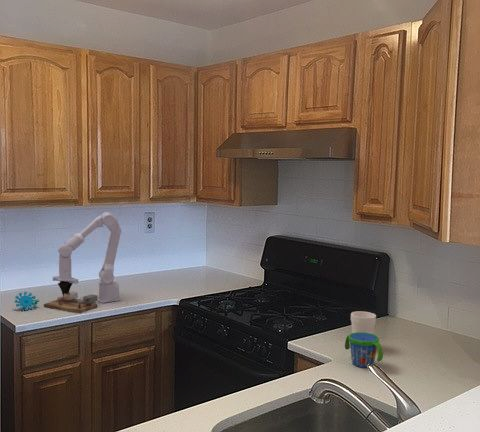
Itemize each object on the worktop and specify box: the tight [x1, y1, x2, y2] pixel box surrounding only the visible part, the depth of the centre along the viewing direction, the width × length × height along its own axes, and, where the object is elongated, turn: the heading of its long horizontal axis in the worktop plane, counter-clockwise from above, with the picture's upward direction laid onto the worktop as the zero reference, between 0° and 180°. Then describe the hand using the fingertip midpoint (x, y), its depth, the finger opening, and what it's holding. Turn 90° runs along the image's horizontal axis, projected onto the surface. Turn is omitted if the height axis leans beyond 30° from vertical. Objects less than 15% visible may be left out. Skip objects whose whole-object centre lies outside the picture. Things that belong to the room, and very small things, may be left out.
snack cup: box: [344, 332, 384, 368], centre depth 191 cm, size 16×10×10 cm
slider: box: [56, 291, 79, 304], centre depth 258 cm, size 11×4×4 cm, turn 155°
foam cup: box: [350, 310, 377, 334], centre depth 208 cm, size 10×9×13 cm
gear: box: [14, 291, 40, 312], centre depth 253 cm, size 11×6×10 cm
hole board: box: [43, 299, 98, 314], centre depth 256 cm, size 12×22×2 cm, turn 65°
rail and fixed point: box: [56, 294, 98, 307], centre depth 257 cm, size 11×21×4 cm, turn 65°
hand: (65, 296), depth 262 cm, fingers closed
